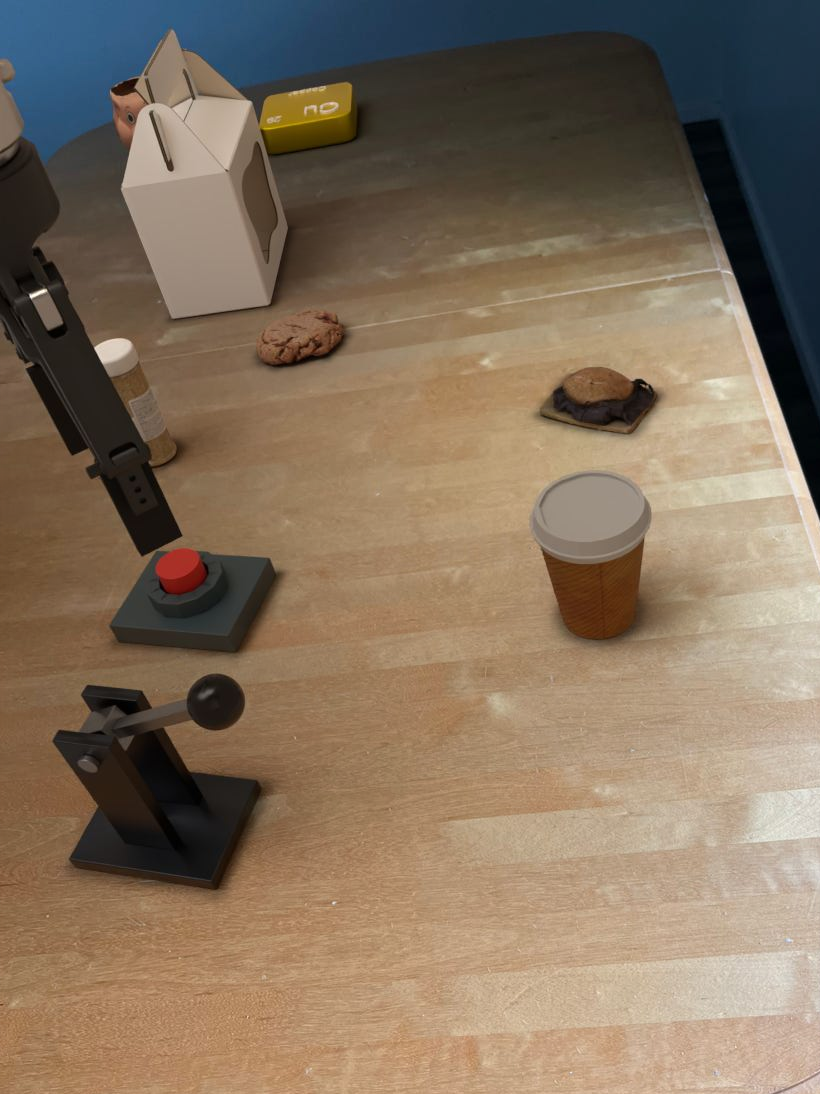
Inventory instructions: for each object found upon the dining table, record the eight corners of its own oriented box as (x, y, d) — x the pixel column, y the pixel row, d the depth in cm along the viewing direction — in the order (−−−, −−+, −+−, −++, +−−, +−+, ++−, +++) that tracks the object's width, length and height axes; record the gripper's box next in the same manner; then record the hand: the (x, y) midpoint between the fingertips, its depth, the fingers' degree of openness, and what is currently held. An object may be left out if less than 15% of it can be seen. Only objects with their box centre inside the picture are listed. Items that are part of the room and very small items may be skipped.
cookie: (243, 354, 128) (236, 332, 126) (310, 314, 133) (303, 292, 131) (293, 379, 123) (286, 357, 121) (360, 337, 127) (355, 314, 125)
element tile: (358, 106, 179) (351, 76, 176) (356, 141, 169) (349, 110, 166) (271, 122, 180) (263, 92, 177) (265, 157, 170) (256, 126, 167)
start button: (156, 593, 95) (147, 577, 93) (175, 563, 97) (167, 546, 96) (195, 596, 94) (188, 580, 92) (213, 565, 96) (206, 549, 95)
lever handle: (264, 692, 68) (227, 656, 66) (243, 736, 65) (204, 701, 64) (125, 730, 76) (88, 699, 74) (102, 770, 73) (63, 739, 71)
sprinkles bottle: (130, 458, 117) (79, 351, 107) (165, 438, 118) (118, 331, 109) (150, 474, 114) (100, 366, 104) (186, 453, 116) (140, 345, 106)
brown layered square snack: (535, 419, 111) (531, 389, 108) (571, 375, 115) (568, 345, 113) (628, 439, 106) (626, 408, 104) (662, 392, 111) (661, 362, 108)
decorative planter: (136, 156, 178) (104, 68, 168) (207, 140, 179) (179, 51, 169) (134, 204, 164) (98, 111, 154) (211, 186, 165) (180, 93, 155)
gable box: (199, 241, 152) (124, 28, 132) (288, 227, 151) (227, 10, 131) (171, 321, 137) (81, 94, 117) (270, 307, 136) (197, 75, 115)
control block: (117, 641, 96) (100, 611, 94) (164, 566, 103) (149, 536, 100) (236, 652, 93) (221, 621, 90) (276, 574, 100) (264, 542, 97)
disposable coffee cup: (563, 567, 95) (550, 460, 86) (667, 583, 91) (665, 474, 83) (527, 643, 89) (510, 536, 80) (637, 663, 86) (631, 554, 77)
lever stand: (262, 788, 83) (203, 672, 73) (216, 890, 77) (146, 779, 67) (127, 771, 86) (54, 658, 76) (74, 867, 80) (-13, 759, 70)
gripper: (108, 203, 46) (254, 562, 61) (-32, 78, 61) (112, 388, 77) (-61, 269, 44) (135, 624, 59) (-161, 122, 59) (13, 433, 75)
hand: (122, 491), depth 68 cm, fingers open, 13 cm apart
